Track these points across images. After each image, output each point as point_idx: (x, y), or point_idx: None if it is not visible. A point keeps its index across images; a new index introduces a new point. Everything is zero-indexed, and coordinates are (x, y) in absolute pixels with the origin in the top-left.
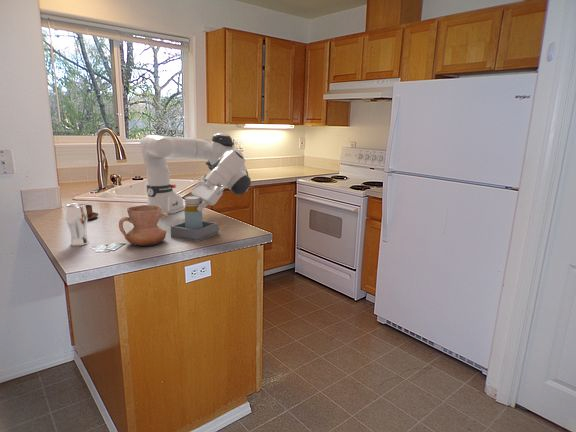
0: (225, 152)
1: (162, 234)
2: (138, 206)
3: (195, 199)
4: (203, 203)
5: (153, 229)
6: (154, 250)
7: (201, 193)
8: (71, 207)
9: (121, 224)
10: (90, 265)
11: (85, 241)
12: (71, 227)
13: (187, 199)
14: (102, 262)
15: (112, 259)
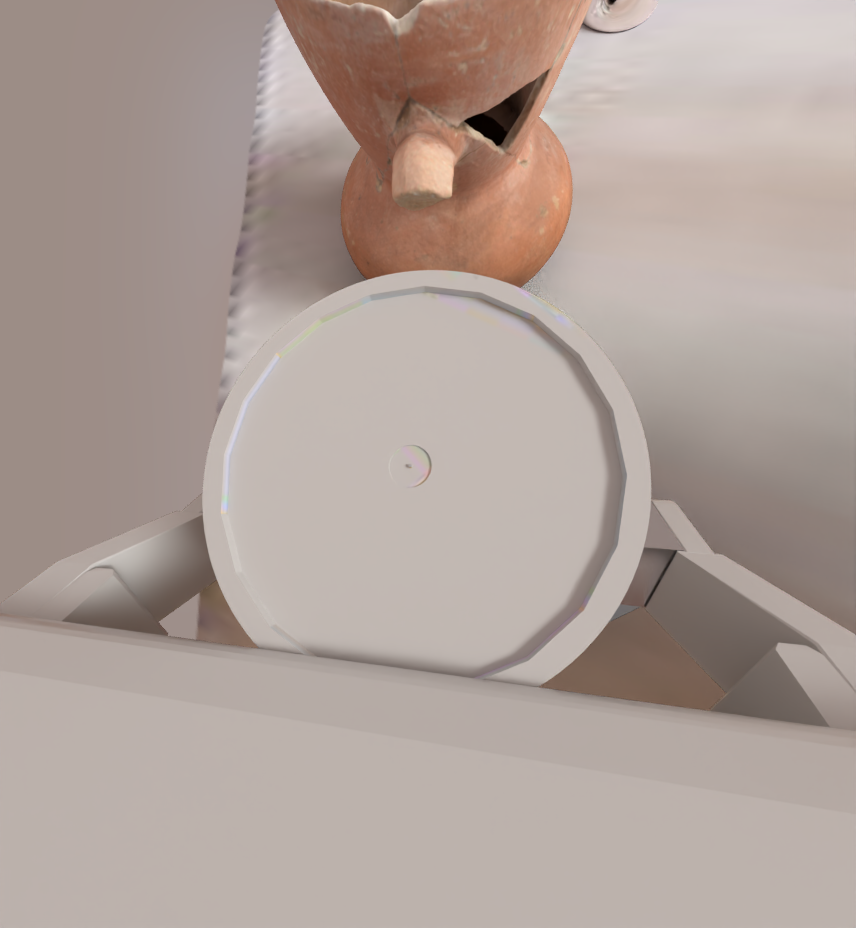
0: None
1: (363, 261)
2: None
3: (220, 466)
4: (72, 567)
5: (370, 181)
6: (319, 254)
7: (228, 891)
8: None
9: None
10: (300, 53)
11: (592, 2)
12: None
13: (338, 306)
14: (305, 82)
15: (315, 110)
